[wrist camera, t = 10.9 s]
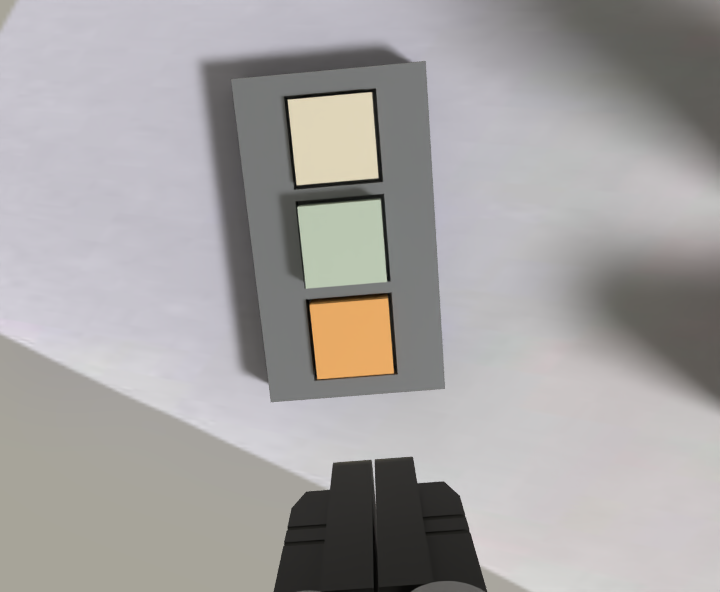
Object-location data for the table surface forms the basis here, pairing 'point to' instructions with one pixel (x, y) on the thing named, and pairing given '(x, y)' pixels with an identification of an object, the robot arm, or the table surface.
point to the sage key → (342, 243)
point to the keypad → (394, 187)
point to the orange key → (352, 336)
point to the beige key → (333, 138)
